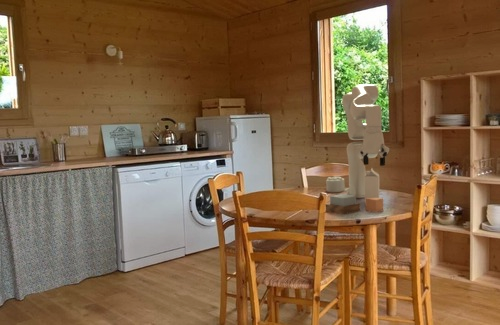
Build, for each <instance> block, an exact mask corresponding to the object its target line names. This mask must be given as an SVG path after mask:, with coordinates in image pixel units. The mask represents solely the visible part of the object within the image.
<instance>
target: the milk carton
mask: <svg viewBox="0 0 500 325" xmlns="http://www.w3.org/2000/svg"><path fill="white" fill-rule="evenodd" d="M373 168H374V167H371V169H370V170H366V175H365V177H364V183H365V198H364V205H365V206H366V198H371V197H377V198H381V197H380V174H379V173H378V172H376V171H375V170H374V169H373Z"/></svg>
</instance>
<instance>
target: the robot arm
mask: <svg viewBox="0 0 500 325" xmlns="http://www.w3.org/2000/svg"><path fill="white" fill-rule="evenodd" d="M379 95H380V92H379V89H378V87H377V85H375V84H358V85H355V86H353V87H352V89H351V91H350V92H348V93H345V94H343V96H342V107H343V110H344V113H345V115H346V122H347V134H348V138H349V140H352V141H354V142H350V143H348V144H347V145H346V156H347V162H348V164H347V165H348V187H345V190H344V191H343V192H346V193H347V195H354V196H356V199H363V198H364V199H365V183H364V177H365V175H366V172H367V170H366V165H369V163H370V162H369V161H370V160H369V159H374V158H376V157H377V156H378V155H379V156H380V157H379V166H380V167H383V166H386V157H387V156H388V155H389V152H390V147H388V146H386V145H385V139H384V134H383V132H382V128H383V127H382V106H381V105H379V104H375V103H376V102H377V101H378V99H379ZM364 121H365V123H364ZM361 140H362V141H361Z"/></svg>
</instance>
